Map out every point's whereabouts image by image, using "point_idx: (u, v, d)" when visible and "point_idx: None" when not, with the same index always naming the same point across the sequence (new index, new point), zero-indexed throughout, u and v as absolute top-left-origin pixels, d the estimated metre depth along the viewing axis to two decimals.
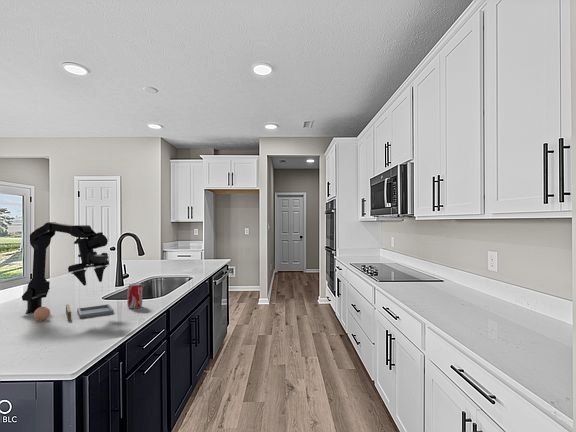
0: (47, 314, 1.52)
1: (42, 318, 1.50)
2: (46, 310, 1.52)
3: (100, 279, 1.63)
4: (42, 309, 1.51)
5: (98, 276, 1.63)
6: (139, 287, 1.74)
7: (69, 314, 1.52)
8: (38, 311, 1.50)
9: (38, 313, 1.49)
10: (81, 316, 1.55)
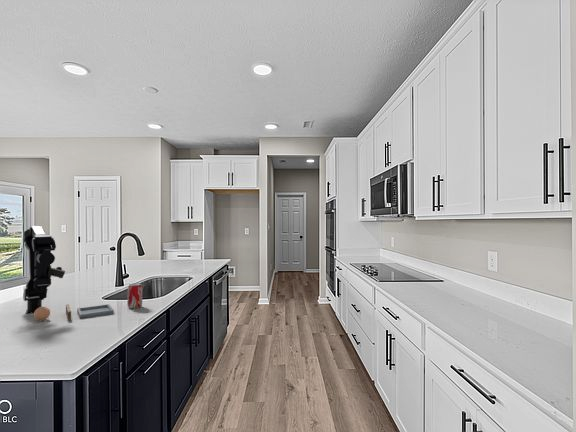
0: (47, 314, 1.52)
1: (42, 318, 1.50)
2: (46, 310, 1.52)
3: None
4: (42, 309, 1.51)
5: None
6: (139, 287, 1.74)
7: (69, 314, 1.52)
8: (38, 311, 1.50)
9: (38, 313, 1.49)
10: (81, 316, 1.55)
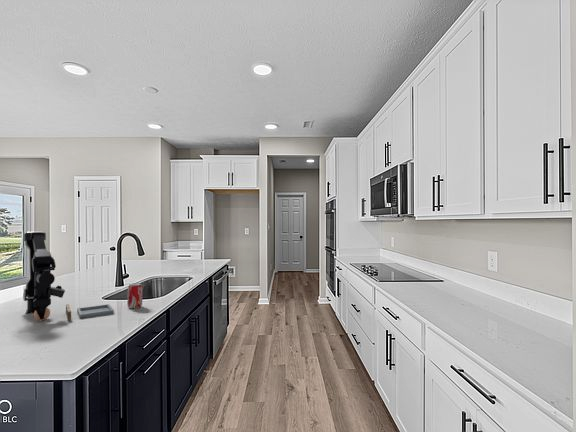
0: (47, 314, 1.52)
1: None
2: (46, 310, 1.52)
3: None
4: None
5: None
6: (139, 287, 1.74)
7: (69, 314, 1.52)
8: None
9: None
10: (81, 316, 1.55)
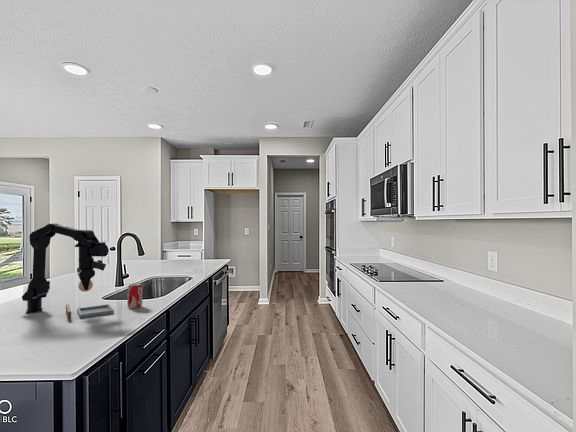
0: (90, 285, 1.61)
1: None
2: (90, 282, 1.61)
3: None
4: None
5: None
6: (139, 287, 1.74)
7: (69, 314, 1.52)
8: None
9: None
10: (81, 316, 1.55)
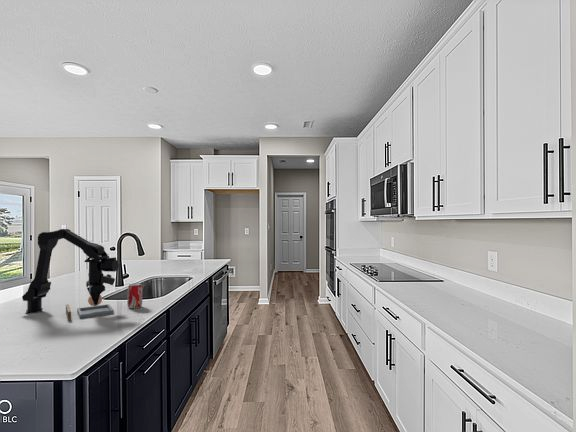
0: (100, 300, 1.64)
1: None
2: (99, 296, 1.64)
3: None
4: None
5: None
6: (139, 287, 1.74)
7: (69, 314, 1.52)
8: None
9: None
10: (81, 316, 1.55)
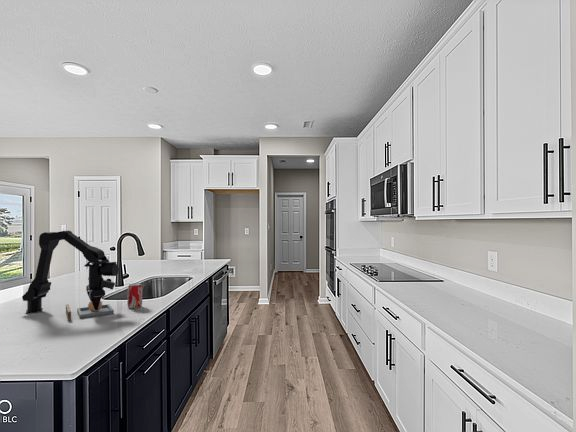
0: (100, 306, 1.64)
1: None
2: None
3: None
4: None
5: None
6: (139, 287, 1.74)
7: (69, 314, 1.52)
8: None
9: (92, 305, 1.62)
10: (81, 316, 1.55)
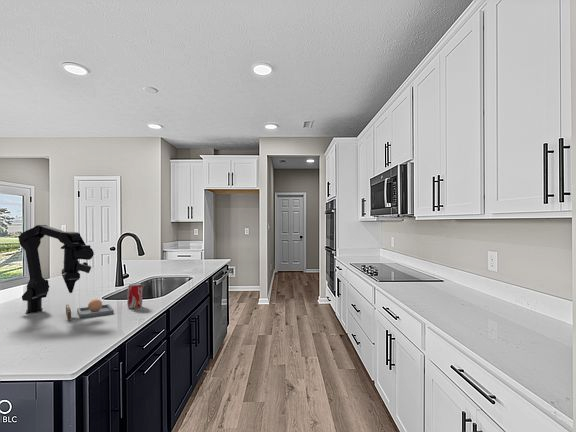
0: (100, 306, 1.64)
1: (96, 309, 1.63)
2: (99, 302, 1.64)
3: None
4: (96, 301, 1.63)
5: None
6: (139, 287, 1.74)
7: (69, 314, 1.52)
8: (92, 303, 1.62)
9: (92, 305, 1.62)
10: (81, 316, 1.55)
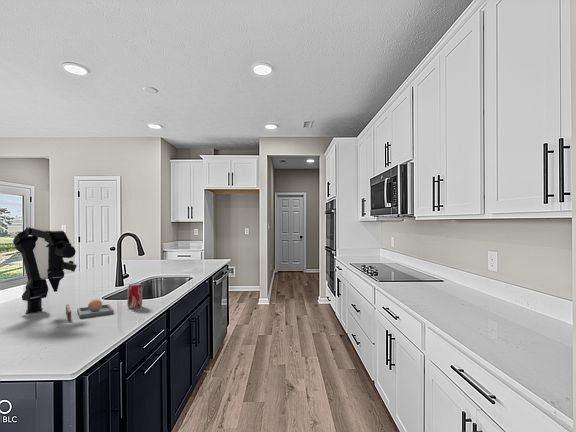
0: (100, 306, 1.64)
1: (96, 310, 1.63)
2: (99, 302, 1.64)
3: None
4: (96, 301, 1.63)
5: None
6: (139, 287, 1.74)
7: (69, 314, 1.52)
8: (92, 303, 1.62)
9: (92, 305, 1.62)
10: (81, 316, 1.55)
